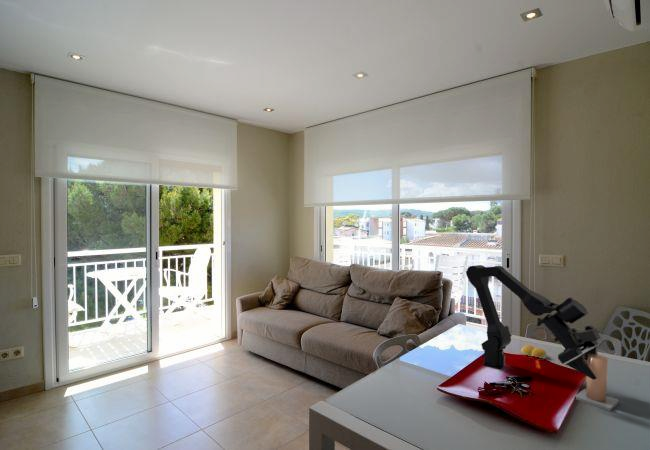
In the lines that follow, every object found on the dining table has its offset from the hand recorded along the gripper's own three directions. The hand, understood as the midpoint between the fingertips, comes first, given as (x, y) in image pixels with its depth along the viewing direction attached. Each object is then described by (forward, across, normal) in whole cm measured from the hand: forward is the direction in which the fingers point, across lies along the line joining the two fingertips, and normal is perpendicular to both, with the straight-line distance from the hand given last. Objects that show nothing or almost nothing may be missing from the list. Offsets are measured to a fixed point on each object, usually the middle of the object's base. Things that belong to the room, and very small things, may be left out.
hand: (600, 375), depth 110 cm
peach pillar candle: (+5, 0, +6) cm, 7 cm away
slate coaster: (+5, 0, +6) cm, 8 cm away
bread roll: (-14, +24, +27) cm, 39 cm away
